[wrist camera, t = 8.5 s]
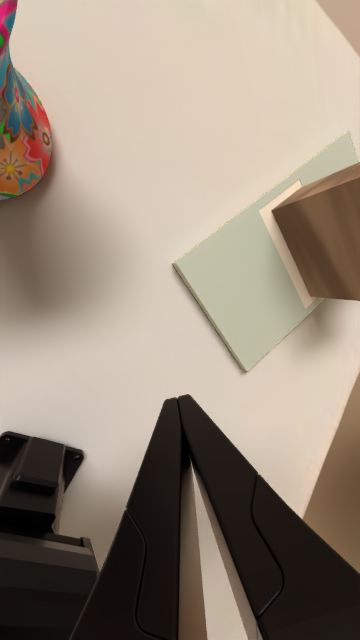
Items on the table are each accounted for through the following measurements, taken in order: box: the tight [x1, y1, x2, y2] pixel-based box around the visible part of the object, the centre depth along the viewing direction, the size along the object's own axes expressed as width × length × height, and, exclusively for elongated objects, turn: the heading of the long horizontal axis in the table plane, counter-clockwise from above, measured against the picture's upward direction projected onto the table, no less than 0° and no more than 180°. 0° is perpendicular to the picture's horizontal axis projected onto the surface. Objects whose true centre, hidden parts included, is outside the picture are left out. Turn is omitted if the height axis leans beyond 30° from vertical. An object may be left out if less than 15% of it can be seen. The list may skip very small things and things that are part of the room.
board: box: [172, 131, 359, 371], centre depth 24 cm, size 22×13×1 cm, turn 126°
